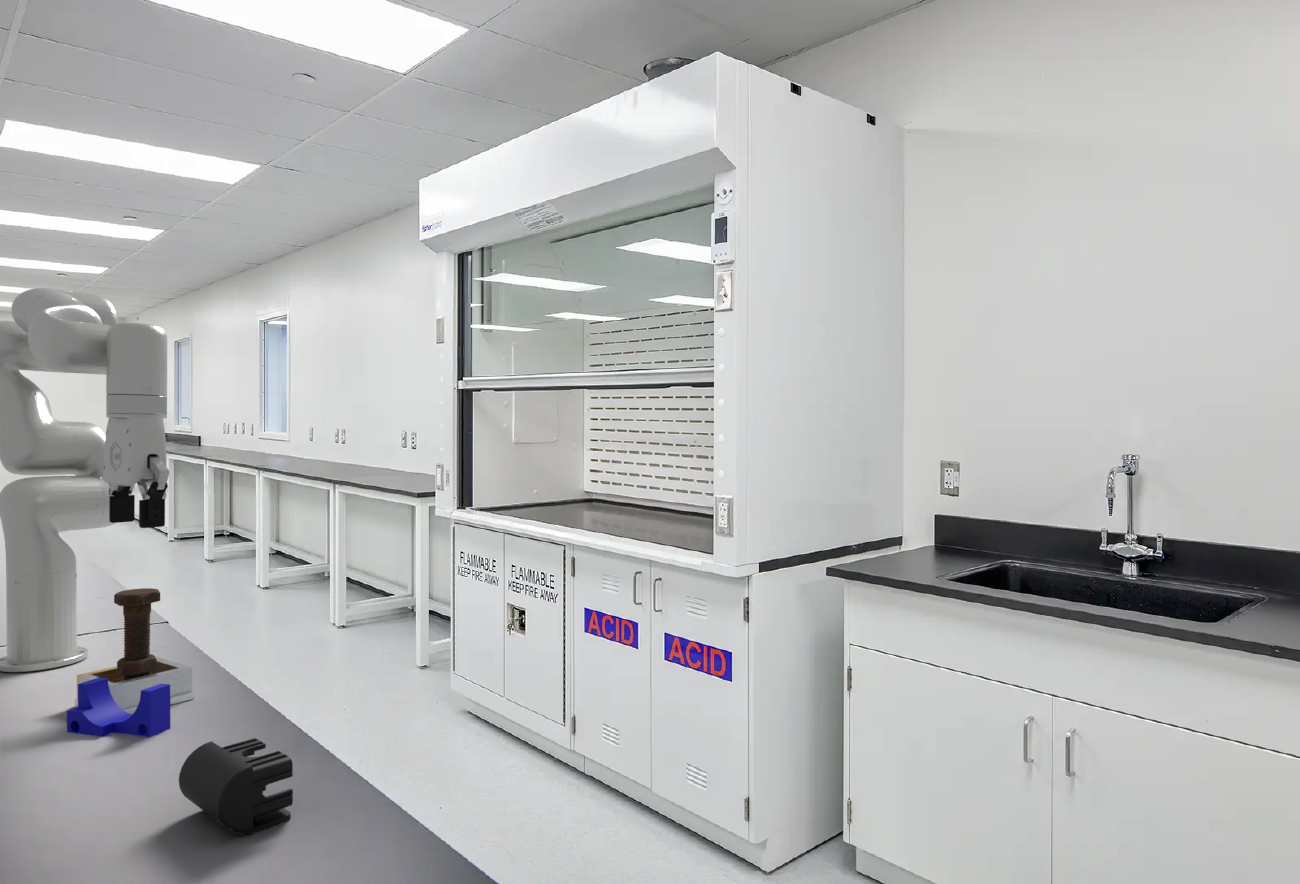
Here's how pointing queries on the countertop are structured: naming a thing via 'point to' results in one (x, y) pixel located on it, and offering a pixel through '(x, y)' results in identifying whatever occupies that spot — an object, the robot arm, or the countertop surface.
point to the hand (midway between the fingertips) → (136, 524)
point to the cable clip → (118, 711)
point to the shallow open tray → (145, 683)
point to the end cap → (238, 785)
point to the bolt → (136, 632)
